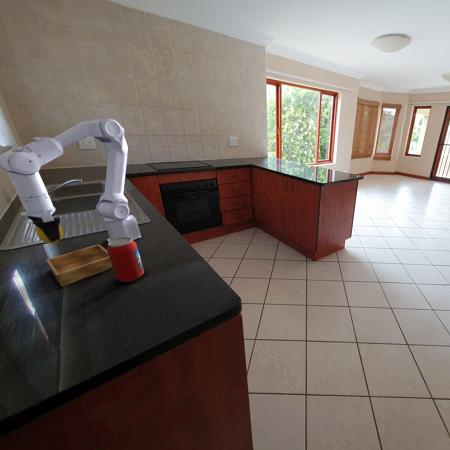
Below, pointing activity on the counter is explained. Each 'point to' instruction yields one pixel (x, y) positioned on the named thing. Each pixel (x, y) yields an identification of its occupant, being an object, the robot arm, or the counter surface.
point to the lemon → (44, 238)
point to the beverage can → (125, 259)
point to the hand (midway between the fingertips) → (53, 237)
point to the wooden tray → (79, 264)
